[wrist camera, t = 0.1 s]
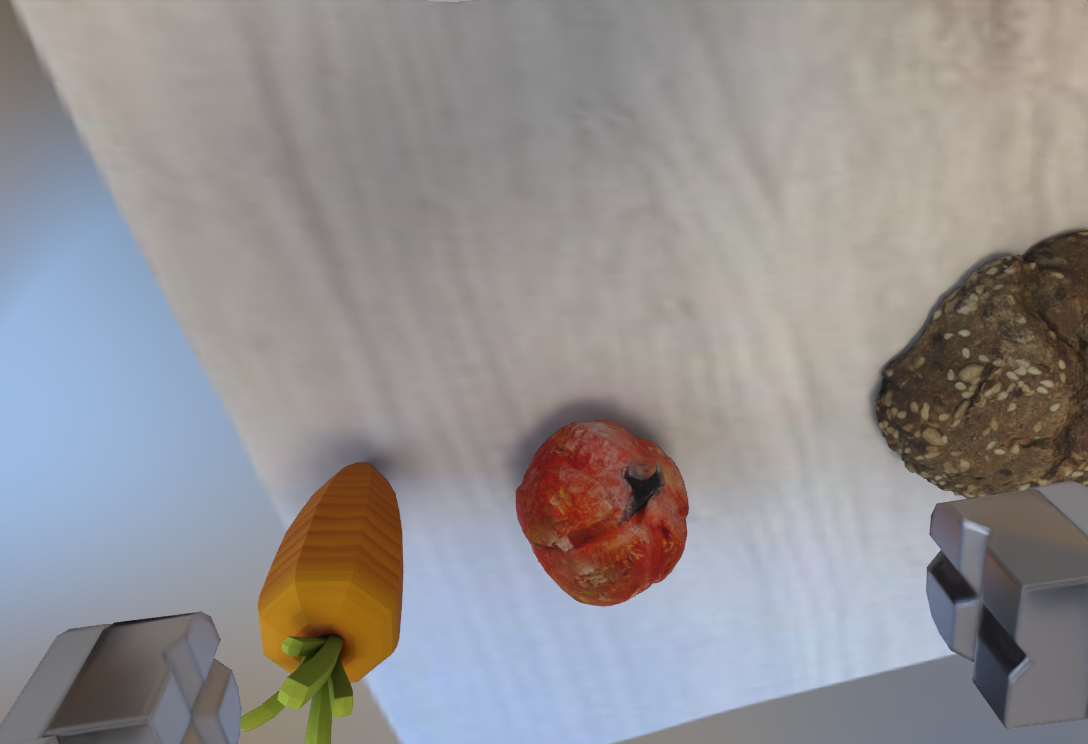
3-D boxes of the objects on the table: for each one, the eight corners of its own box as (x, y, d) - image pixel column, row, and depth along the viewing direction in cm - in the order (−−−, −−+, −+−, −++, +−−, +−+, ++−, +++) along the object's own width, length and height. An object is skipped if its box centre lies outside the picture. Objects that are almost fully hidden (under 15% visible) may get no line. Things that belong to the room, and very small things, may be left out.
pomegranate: (624, 520, 44) (770, 472, 36) (565, 649, 39) (715, 627, 32) (514, 428, 42) (641, 357, 34) (439, 553, 38) (565, 504, 30)
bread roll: (1038, 525, 43) (1104, 590, 38) (835, 431, 40) (881, 490, 35) (1227, 304, 38) (1327, 349, 34) (1016, 179, 35) (1094, 210, 31)
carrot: (397, 528, 40) (356, 813, 27) (292, 493, 39) (194, 773, 26) (437, 441, 38) (415, 699, 25) (329, 402, 37) (244, 650, 24)
